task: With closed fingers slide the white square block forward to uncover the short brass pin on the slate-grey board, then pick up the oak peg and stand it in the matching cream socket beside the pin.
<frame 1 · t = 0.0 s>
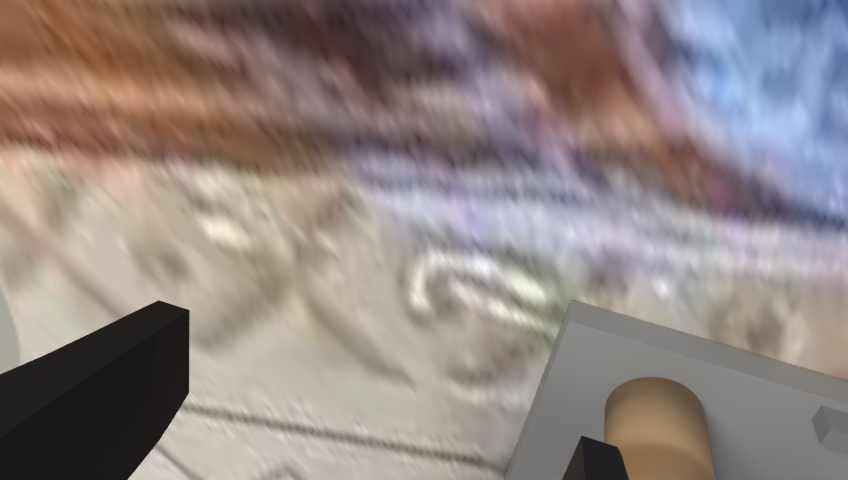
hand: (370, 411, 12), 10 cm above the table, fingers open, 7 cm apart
peg: (653, 413, 21), point 1 cm above the table, touching board
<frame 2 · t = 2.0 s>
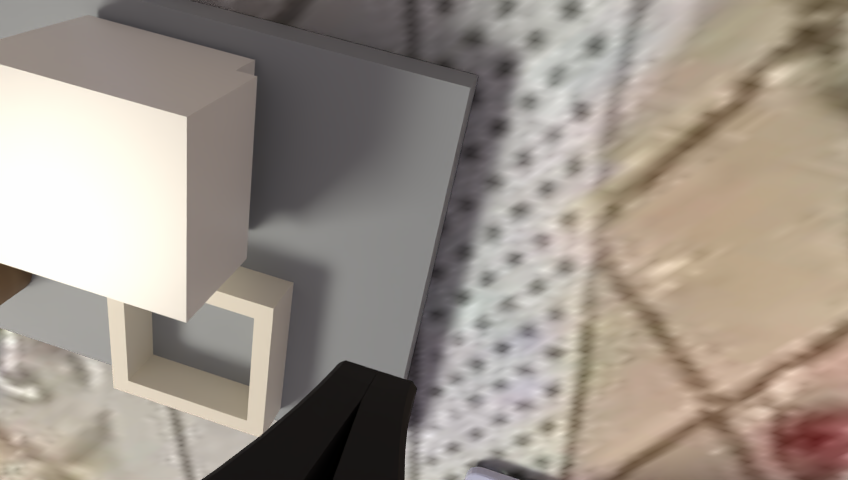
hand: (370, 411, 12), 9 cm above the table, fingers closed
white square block: (134, 162, 18), point 4 cm above the table, slide at 0.0 cm
board: (176, 207, 23), on the table
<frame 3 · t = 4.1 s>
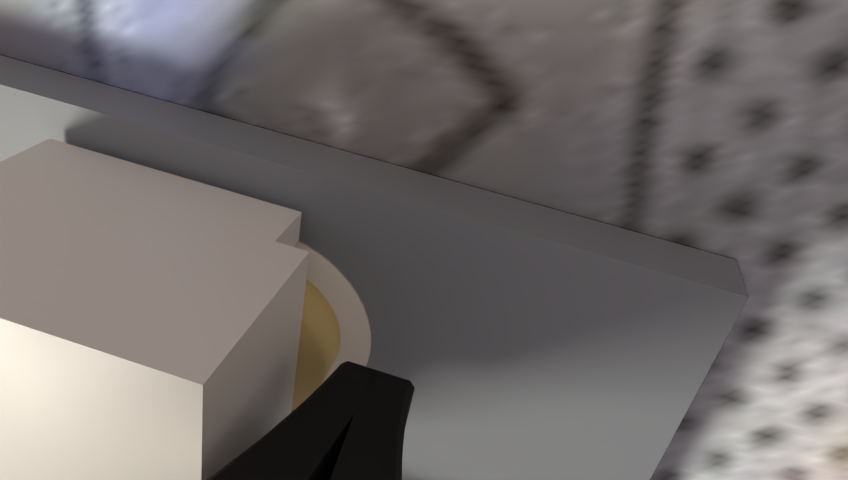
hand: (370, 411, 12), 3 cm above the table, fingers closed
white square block: (119, 371, 12), point 4 cm above the table, slide at 1.7 cm, touching gripper
board: (245, 392, 16), on the table
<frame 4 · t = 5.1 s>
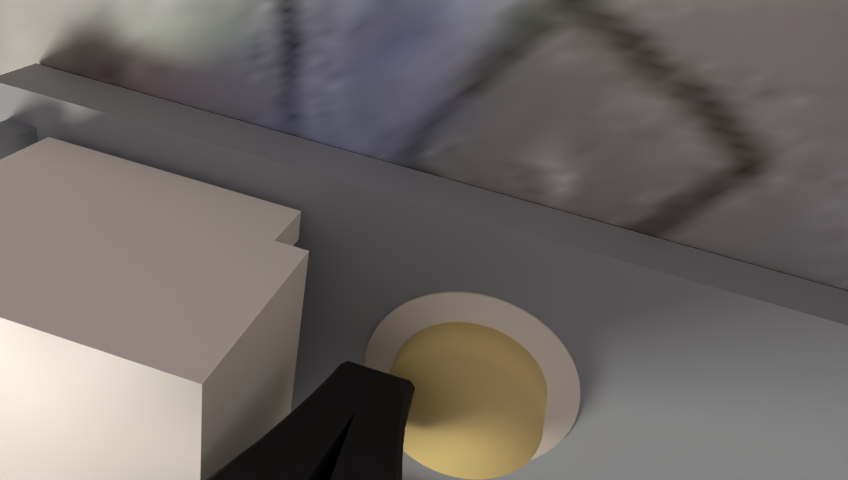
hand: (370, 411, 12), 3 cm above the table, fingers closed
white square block: (118, 370, 12), point 4 cm above the table, slide at 5.9 cm, touching gripper
board: (405, 444, 16), on the table
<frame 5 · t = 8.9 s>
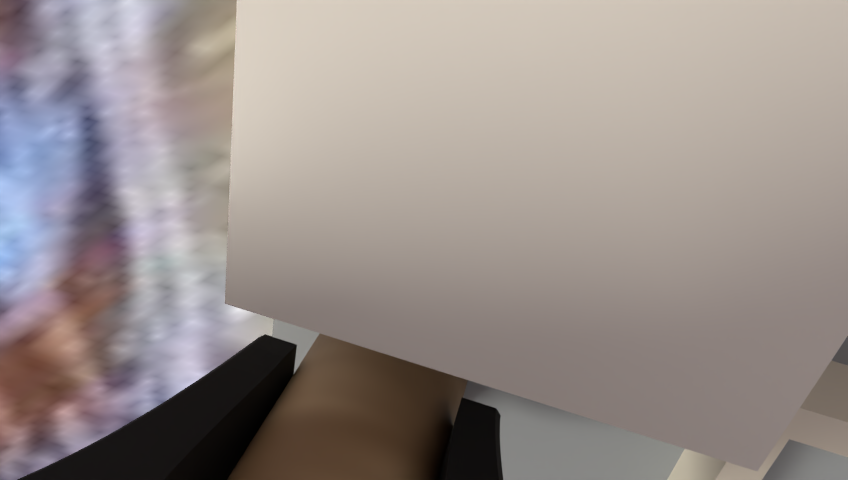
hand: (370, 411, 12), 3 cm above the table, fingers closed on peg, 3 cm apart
peg: (392, 362, 13), point 1 cm above the table, touching board, gripper
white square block: (571, 61, 7), point 4 cm above the table, slide at 5.9 cm
board: (802, 280, 12), on the table
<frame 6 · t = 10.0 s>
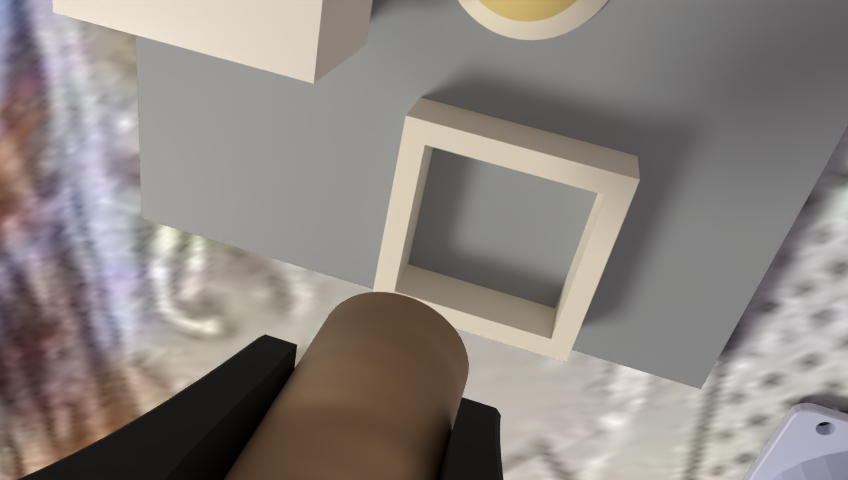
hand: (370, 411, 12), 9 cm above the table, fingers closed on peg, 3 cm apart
peg: (393, 356, 13), point 8 cm above the table, touching gripper
board: (465, 69, 18), on the table
when the fingers open (4 cm above the table, at t = 11.5 s): peg stays where it is, resting on board.
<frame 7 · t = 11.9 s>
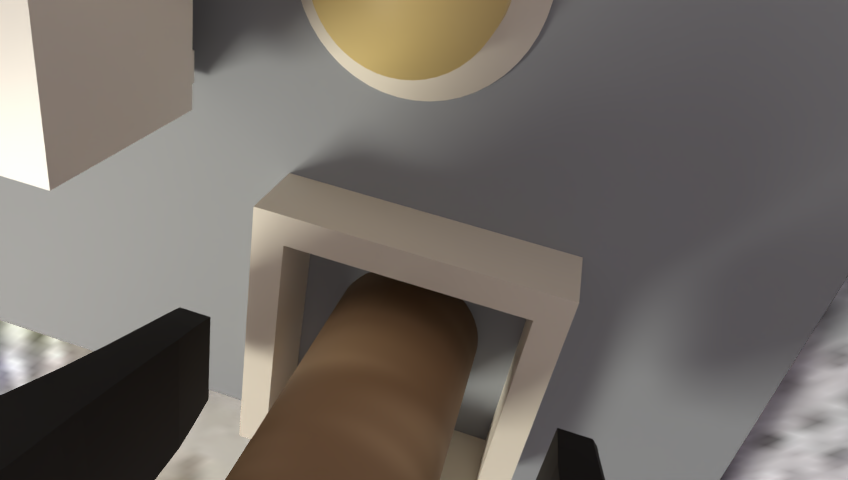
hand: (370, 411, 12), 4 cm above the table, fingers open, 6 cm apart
peg: (406, 330, 14), point 1 cm above the table, touching board
board: (356, 132, 13), on the table
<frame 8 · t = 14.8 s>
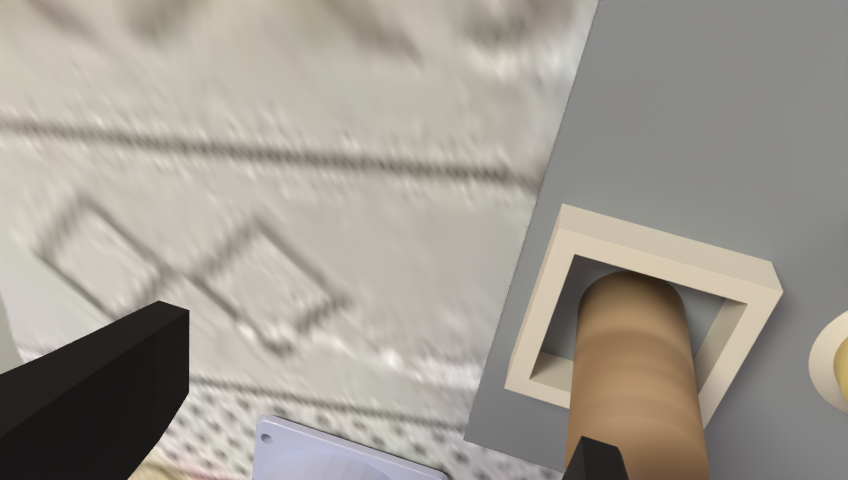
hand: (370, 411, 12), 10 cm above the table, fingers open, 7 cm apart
peg: (630, 314, 20), point 1 cm above the table, touching board
board: (772, 271, 19), on the table
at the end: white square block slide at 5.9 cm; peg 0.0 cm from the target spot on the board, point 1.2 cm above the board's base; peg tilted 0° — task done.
